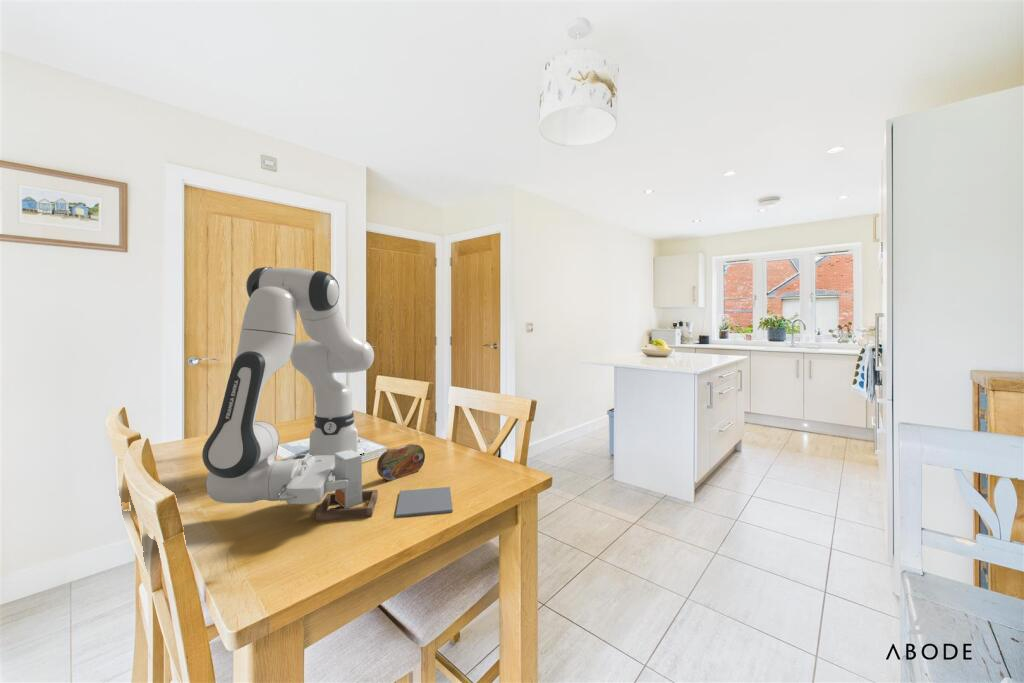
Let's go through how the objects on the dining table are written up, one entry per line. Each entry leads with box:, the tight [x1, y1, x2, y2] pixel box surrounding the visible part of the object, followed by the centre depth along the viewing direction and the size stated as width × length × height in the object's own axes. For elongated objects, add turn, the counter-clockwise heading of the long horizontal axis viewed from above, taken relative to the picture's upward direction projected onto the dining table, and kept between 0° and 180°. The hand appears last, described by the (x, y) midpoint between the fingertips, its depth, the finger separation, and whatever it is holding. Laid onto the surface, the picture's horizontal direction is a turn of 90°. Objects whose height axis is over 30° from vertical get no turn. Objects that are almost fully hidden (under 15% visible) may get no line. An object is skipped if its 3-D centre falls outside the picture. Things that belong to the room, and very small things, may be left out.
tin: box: [376, 443, 426, 482], centre depth 115 cm, size 15×3×8 cm, turn 139°
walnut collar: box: [315, 489, 379, 522], centre depth 94 cm, size 10×12×2 cm
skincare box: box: [334, 450, 363, 509], centre depth 94 cm, size 6×4×12 cm
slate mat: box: [395, 486, 454, 518], centre depth 98 cm, size 13×13×1 cm
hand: (352, 475), depth 94 cm, fingers closed on skincare box, 7 cm apart
